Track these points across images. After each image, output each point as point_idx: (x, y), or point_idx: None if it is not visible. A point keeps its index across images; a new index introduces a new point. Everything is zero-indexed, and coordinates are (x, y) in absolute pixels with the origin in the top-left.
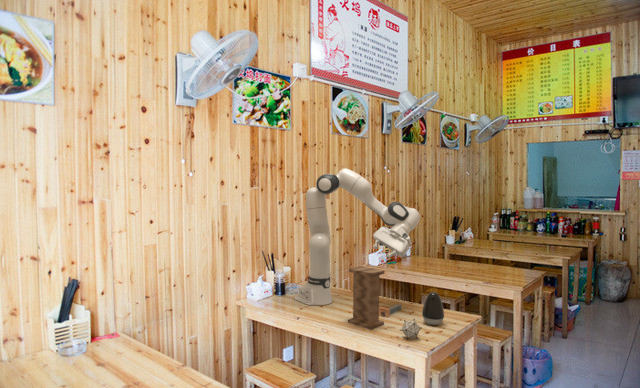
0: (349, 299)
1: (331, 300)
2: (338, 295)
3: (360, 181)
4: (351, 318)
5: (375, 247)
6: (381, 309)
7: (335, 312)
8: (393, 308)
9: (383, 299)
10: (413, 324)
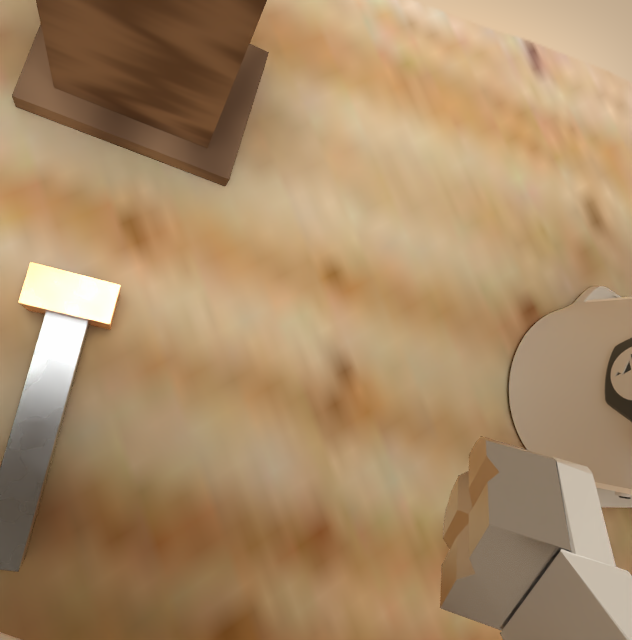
0: None
1: (521, 412)
2: None
3: None
4: (255, 82)
5: (483, 439)
6: (92, 278)
7: (407, 228)
8: (18, 415)
9: None
10: None
